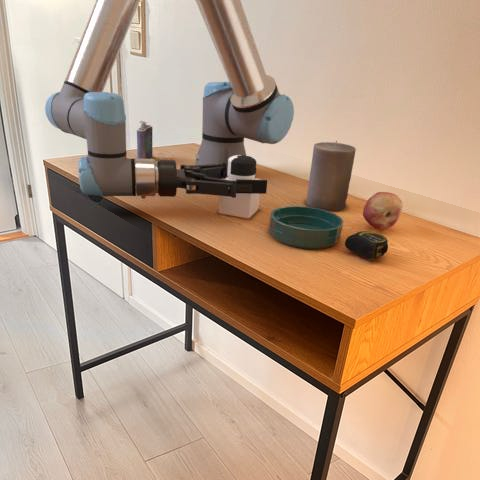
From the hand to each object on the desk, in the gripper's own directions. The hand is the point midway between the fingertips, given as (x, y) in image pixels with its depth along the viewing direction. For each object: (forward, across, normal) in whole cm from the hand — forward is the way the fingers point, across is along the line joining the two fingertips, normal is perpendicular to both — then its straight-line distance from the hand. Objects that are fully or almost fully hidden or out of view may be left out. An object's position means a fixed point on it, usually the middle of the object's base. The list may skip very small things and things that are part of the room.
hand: (260, 180), depth 107 cm
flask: (-24, -46, -7) cm, 52 cm away
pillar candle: (+18, -6, -7) cm, 20 cm away
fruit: (+25, +11, -7) cm, 28 cm away
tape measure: (+15, +25, -7) cm, 30 cm away
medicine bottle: (-4, 0, -7) cm, 9 cm away
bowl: (+6, +15, -7) cm, 18 cm away
